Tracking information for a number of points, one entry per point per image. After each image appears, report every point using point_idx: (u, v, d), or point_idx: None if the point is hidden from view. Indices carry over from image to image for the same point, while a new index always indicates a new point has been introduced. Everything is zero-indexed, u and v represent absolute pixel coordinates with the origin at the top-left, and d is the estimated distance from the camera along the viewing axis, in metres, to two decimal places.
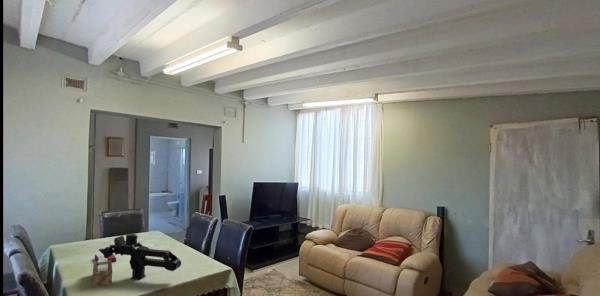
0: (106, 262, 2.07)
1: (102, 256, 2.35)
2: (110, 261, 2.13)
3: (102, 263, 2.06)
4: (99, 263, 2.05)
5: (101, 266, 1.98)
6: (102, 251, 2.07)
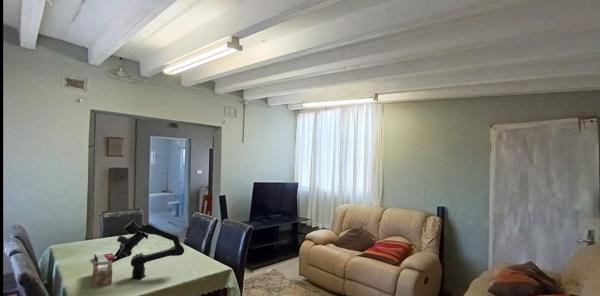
0: (106, 262, 2.07)
1: (101, 256, 2.35)
2: (110, 261, 2.13)
3: (102, 263, 2.06)
4: (99, 263, 2.05)
5: (101, 266, 1.98)
6: (119, 257, 1.99)
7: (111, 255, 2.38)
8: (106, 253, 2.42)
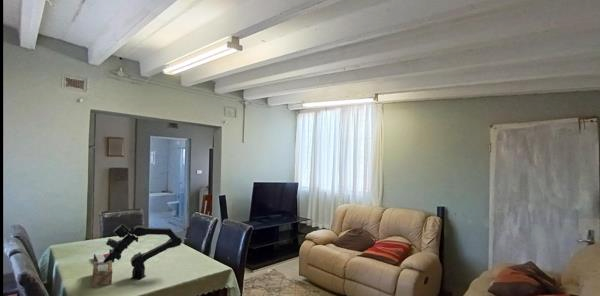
0: (106, 262, 2.07)
1: (100, 256, 2.35)
2: (110, 261, 2.13)
3: (102, 263, 2.06)
4: (99, 263, 2.05)
5: (101, 266, 1.98)
6: (108, 259, 1.99)
7: None
8: (105, 253, 2.42)
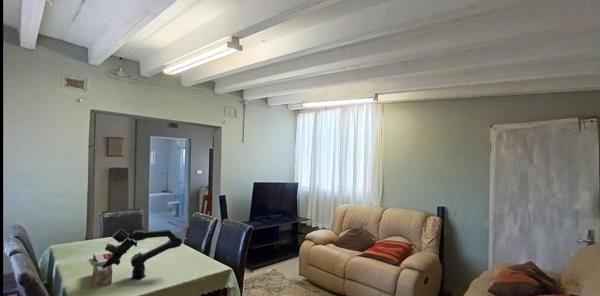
0: None
1: (100, 256, 2.35)
2: None
3: (102, 263, 2.06)
4: (99, 263, 2.05)
5: (101, 268, 1.98)
6: (107, 264, 1.99)
7: None
8: (105, 253, 2.42)
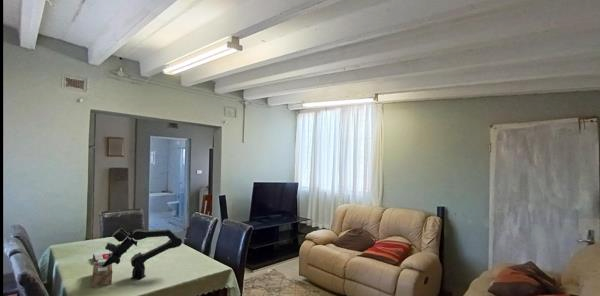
0: None
1: (99, 256, 2.35)
2: None
3: (102, 263, 2.06)
4: (99, 263, 2.05)
5: (101, 269, 1.98)
6: (107, 263, 1.99)
7: None
8: (104, 253, 2.42)
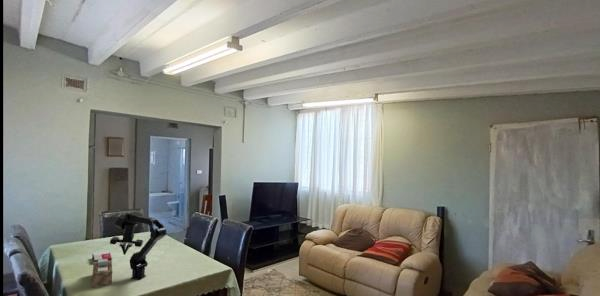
0: (106, 262, 2.07)
1: (98, 256, 2.35)
2: (110, 261, 2.13)
3: (102, 263, 2.06)
4: (99, 263, 2.05)
5: (101, 269, 1.98)
6: None
7: (108, 255, 2.38)
8: (104, 253, 2.42)
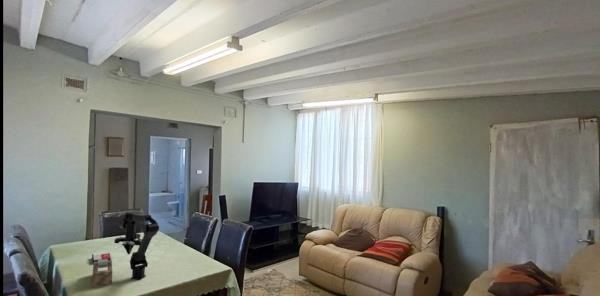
0: (106, 262, 2.07)
1: (98, 256, 2.35)
2: (110, 261, 2.13)
3: (102, 263, 2.06)
4: (99, 263, 2.05)
5: (101, 269, 1.98)
6: None
7: (107, 255, 2.38)
8: (103, 253, 2.42)
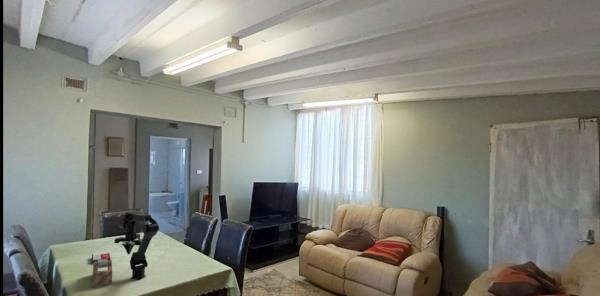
0: (106, 262, 2.07)
1: (97, 256, 2.35)
2: (110, 261, 2.13)
3: (102, 263, 2.06)
4: (99, 263, 2.05)
5: (101, 269, 1.98)
6: None
7: (107, 255, 2.38)
8: (103, 253, 2.42)
